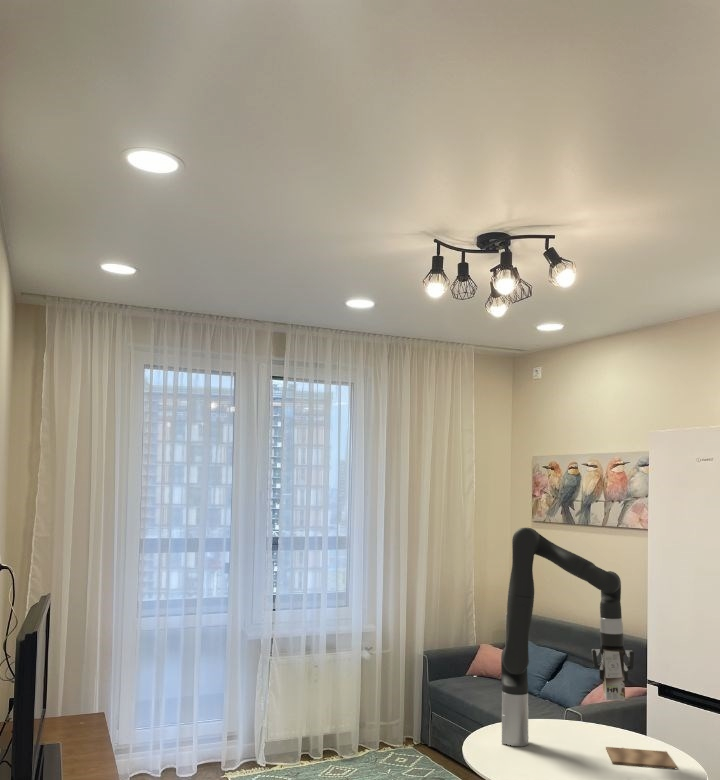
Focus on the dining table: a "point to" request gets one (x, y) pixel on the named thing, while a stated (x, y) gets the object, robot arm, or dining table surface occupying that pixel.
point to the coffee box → (613, 674)
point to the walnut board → (640, 757)
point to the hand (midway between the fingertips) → (613, 681)
